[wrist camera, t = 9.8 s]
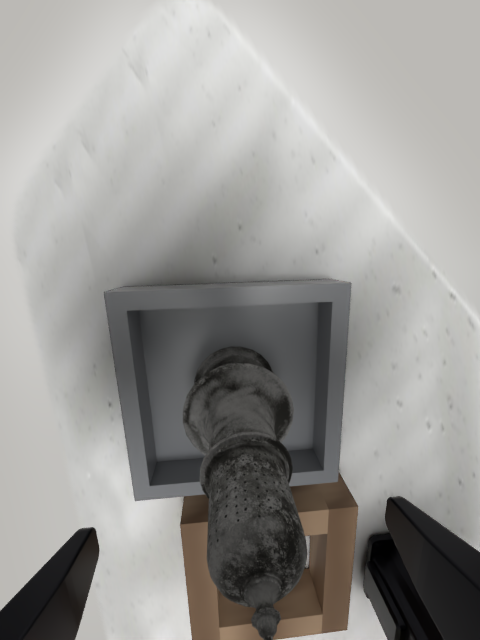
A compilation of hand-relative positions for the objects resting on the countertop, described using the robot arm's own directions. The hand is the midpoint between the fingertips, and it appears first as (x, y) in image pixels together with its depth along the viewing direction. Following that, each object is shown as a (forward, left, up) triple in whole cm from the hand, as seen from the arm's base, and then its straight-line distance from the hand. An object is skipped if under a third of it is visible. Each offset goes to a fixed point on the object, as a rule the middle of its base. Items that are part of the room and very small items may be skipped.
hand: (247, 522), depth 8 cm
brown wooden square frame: (-2, +14, -10) cm, 17 cm away
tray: (0, 0, -10) cm, 10 cm away
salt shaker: (0, 0, -10) cm, 10 cm away
